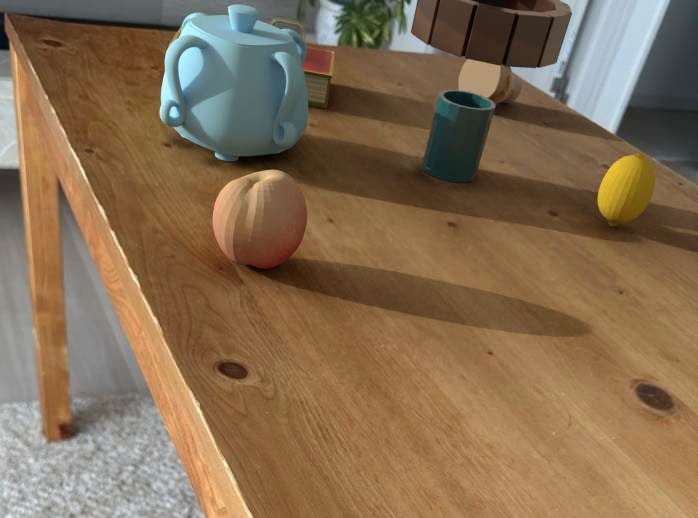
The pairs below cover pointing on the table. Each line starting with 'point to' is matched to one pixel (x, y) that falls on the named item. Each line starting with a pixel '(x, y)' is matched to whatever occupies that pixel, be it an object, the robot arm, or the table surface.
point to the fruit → (260, 218)
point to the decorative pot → (236, 84)
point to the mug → (490, 81)
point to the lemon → (626, 189)
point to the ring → (495, 30)
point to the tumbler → (458, 135)
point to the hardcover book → (311, 73)
